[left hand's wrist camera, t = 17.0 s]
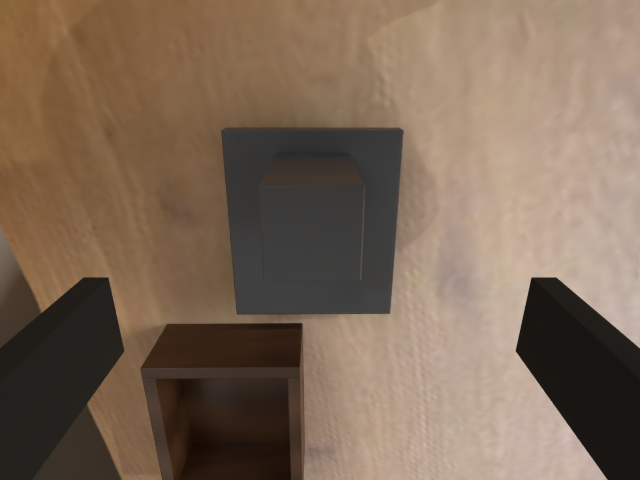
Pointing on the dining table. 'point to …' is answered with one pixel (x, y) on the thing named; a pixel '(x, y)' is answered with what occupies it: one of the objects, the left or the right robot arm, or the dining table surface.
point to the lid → (312, 218)
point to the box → (227, 401)
